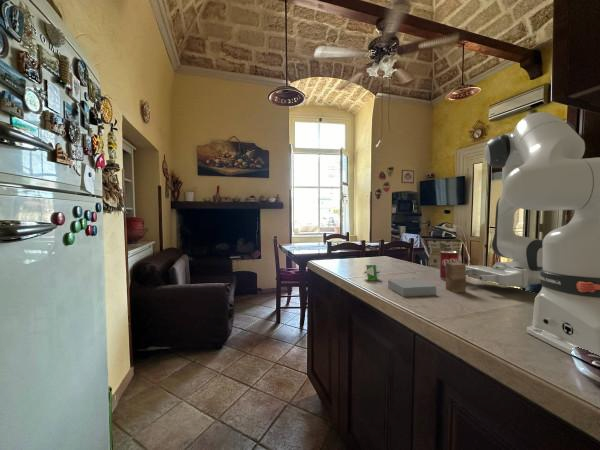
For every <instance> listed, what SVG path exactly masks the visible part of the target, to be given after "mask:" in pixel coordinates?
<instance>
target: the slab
mask: <svg viewBox="0 0 600 450" xmlns="http://www.w3.org/2000/svg"><path fill="white" fill-rule="evenodd" d="M387 282H388V284H387V286H388V287H387V288H388V289H390V290H392V291H393V292H395V293H397V294H398V295H400V296H402V297H423V296H437V286H436V285H434V284H431V283H429V282H426V281H424V280H421V279H419V278H405V279H403V278H402V279H401V278H400V279H388V281H387Z"/></svg>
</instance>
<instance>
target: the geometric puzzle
mask: <svg viewBox="0 0 600 450" xmlns="http://www.w3.org/2000/svg"><path fill="white" fill-rule="evenodd" d="M365 267H366V269H364V272H363V273H362V274H364V276H365V277H366V280H367V281H378V280H379V277H378V274H380V273H381V270H380V271H379V270H378V266H377V265H376V264H366V265H365Z"/></svg>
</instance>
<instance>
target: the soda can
mask: <svg viewBox="0 0 600 450" xmlns="http://www.w3.org/2000/svg"><path fill="white" fill-rule="evenodd" d="M459 257H460V255H459V252H458V251H456V250H455V251H454V250H440V251H439V278H440V279H441V280H443V281H446V268H445V263H453V262H457V263H460V258H459Z"/></svg>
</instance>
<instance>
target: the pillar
mask: <svg viewBox="0 0 600 450" xmlns="http://www.w3.org/2000/svg"><path fill="white" fill-rule="evenodd" d="M465 266H466V263H462V262H461V263H460V262H459V263H457V262H453V263H445V268H446V280H445V290H446V291H449V292H452V293H467V290H466V289H467V288H466V286H467V283H466V281H467V280H466V279H467V275H466V269H465Z"/></svg>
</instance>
